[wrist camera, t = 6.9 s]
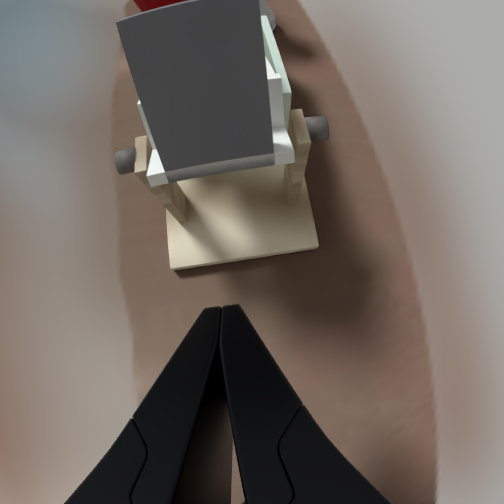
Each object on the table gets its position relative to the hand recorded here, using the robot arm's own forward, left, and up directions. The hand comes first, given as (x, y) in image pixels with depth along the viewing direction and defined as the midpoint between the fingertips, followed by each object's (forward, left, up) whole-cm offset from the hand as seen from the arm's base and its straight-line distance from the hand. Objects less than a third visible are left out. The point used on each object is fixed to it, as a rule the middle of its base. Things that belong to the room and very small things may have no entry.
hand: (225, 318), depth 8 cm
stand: (+6, +6, -13) cm, 16 cm away
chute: (+8, +8, -6) cm, 12 cm away
